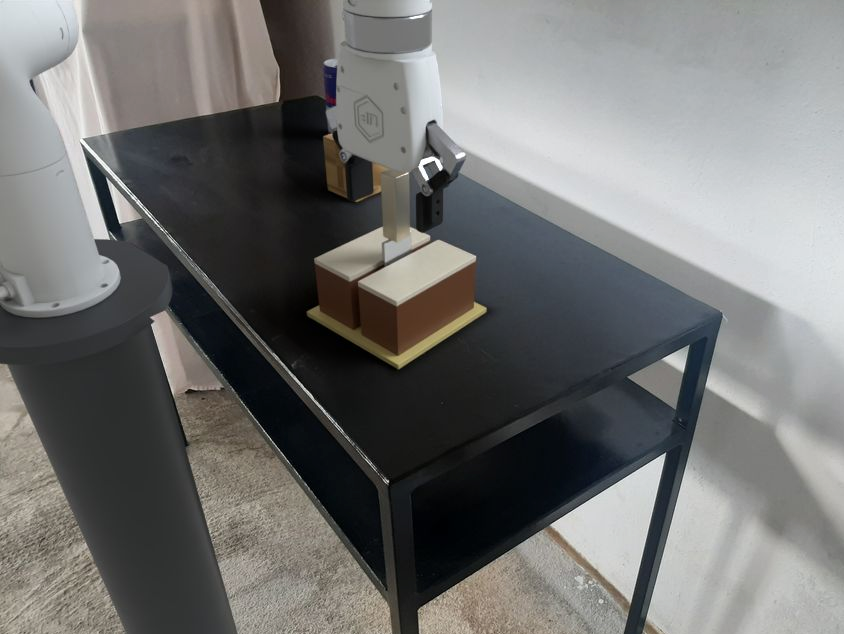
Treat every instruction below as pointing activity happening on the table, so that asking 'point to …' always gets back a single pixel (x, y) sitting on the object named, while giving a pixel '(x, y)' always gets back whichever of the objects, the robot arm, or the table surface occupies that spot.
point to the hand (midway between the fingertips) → (394, 211)
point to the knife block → (337, 170)
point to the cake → (396, 295)
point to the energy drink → (330, 84)
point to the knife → (395, 216)
